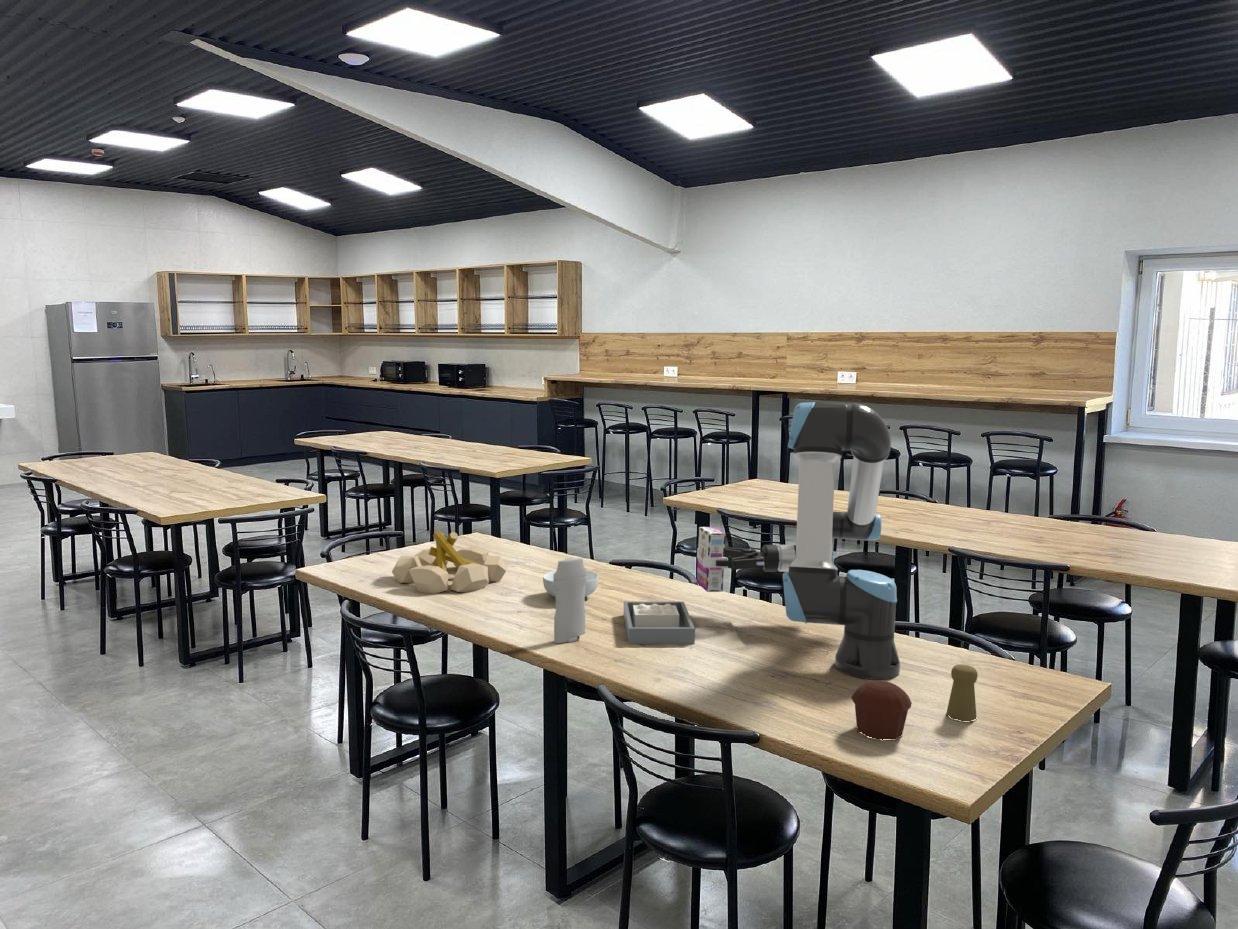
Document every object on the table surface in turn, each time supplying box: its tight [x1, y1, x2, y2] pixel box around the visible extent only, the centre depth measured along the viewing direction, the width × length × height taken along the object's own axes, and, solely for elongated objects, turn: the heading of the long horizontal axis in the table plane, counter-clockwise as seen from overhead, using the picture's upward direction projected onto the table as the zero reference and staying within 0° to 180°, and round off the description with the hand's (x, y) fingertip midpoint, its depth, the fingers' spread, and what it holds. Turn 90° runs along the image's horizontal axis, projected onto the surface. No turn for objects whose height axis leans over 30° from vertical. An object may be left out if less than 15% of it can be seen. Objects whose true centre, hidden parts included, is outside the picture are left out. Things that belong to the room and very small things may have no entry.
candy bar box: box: [696, 526, 727, 593], centre depth 248 cm, size 11×5×16 cm, turn 10°
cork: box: [946, 664, 979, 721], centre depth 186 cm, size 6×6×11 cm
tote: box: [622, 600, 696, 645], centre depth 238 cm, size 24×17×5 cm
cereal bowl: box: [542, 569, 600, 598], centre depth 269 cm, size 17×17×7 cm
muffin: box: [850, 680, 913, 740], centre depth 178 cm, size 12×11×10 cm
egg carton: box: [633, 604, 679, 627], centre depth 243 cm, size 9×12×5 cm
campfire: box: [391, 530, 508, 595], centre depth 287 cm, size 35×34×17 cm
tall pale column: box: [553, 556, 588, 645], centre depth 230 cm, size 11×4×22 cm, turn 129°
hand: (700, 557), depth 248 cm, fingers closed on candy bar box, 11 cm apart
